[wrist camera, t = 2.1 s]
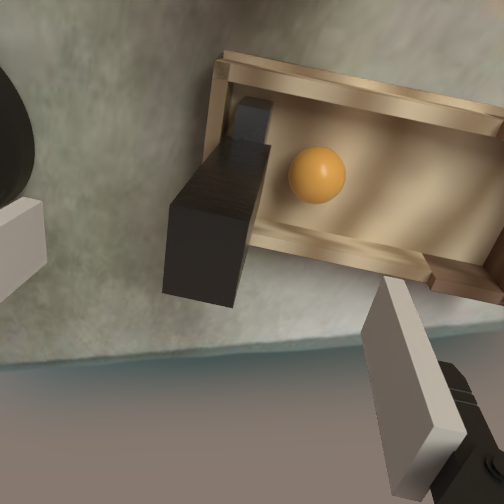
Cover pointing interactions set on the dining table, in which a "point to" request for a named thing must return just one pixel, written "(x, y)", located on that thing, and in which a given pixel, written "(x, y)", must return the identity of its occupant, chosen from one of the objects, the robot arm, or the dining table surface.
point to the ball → (317, 175)
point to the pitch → (376, 174)
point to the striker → (219, 212)
